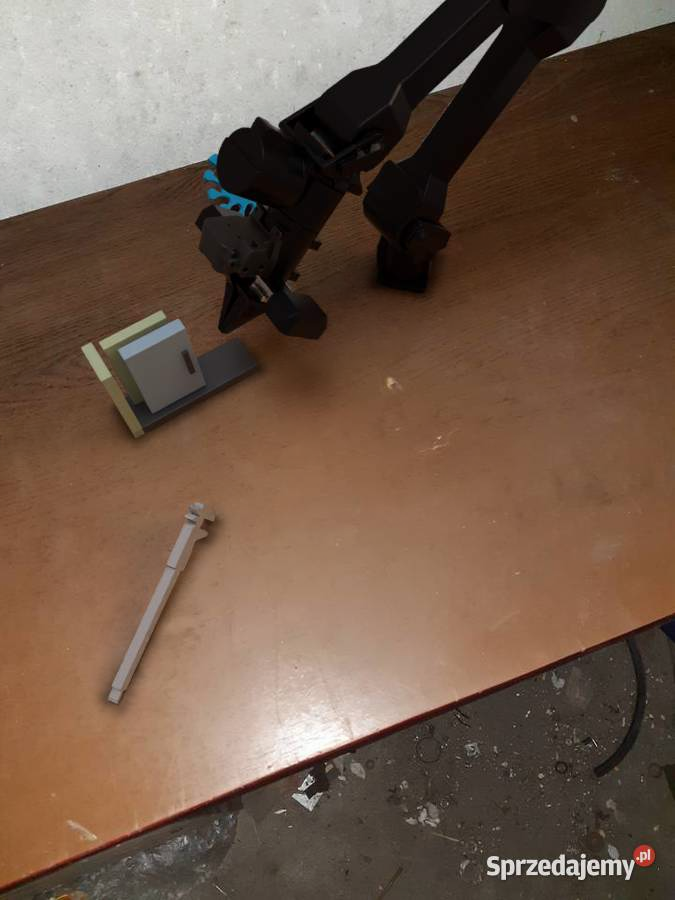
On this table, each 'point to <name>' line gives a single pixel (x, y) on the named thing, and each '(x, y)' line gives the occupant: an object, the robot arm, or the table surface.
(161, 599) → the caliper
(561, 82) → the table surface
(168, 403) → the closet door
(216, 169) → the robot arm
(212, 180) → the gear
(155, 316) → the closet frame
